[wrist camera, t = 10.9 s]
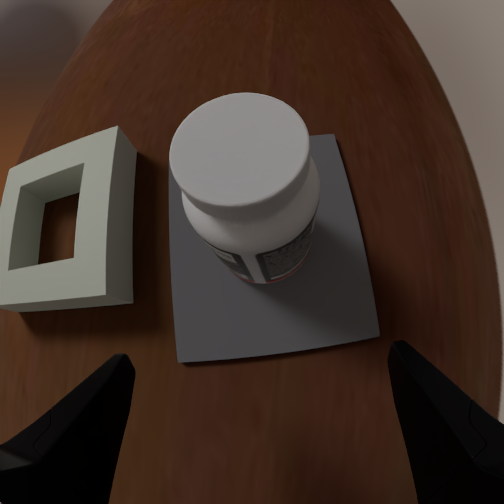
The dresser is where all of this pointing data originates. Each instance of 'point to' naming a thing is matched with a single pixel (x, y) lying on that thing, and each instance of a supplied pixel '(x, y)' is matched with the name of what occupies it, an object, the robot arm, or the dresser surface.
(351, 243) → the charcoal mat
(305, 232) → the pill bottle
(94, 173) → the socket block
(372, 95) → the dresser surface
